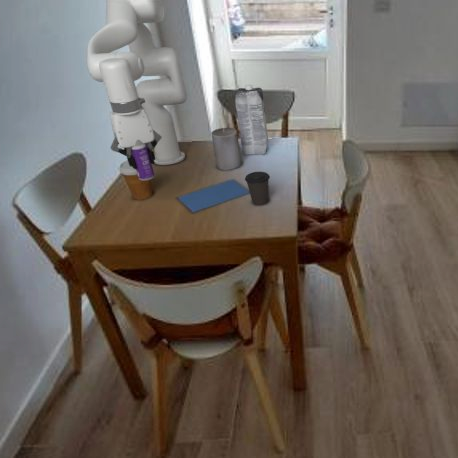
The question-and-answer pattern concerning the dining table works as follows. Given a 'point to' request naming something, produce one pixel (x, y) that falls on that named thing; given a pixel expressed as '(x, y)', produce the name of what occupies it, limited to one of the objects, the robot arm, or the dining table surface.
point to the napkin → (212, 195)
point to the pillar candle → (226, 148)
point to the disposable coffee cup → (135, 182)
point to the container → (142, 161)
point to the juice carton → (251, 120)
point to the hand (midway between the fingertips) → (143, 164)
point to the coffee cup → (258, 187)
